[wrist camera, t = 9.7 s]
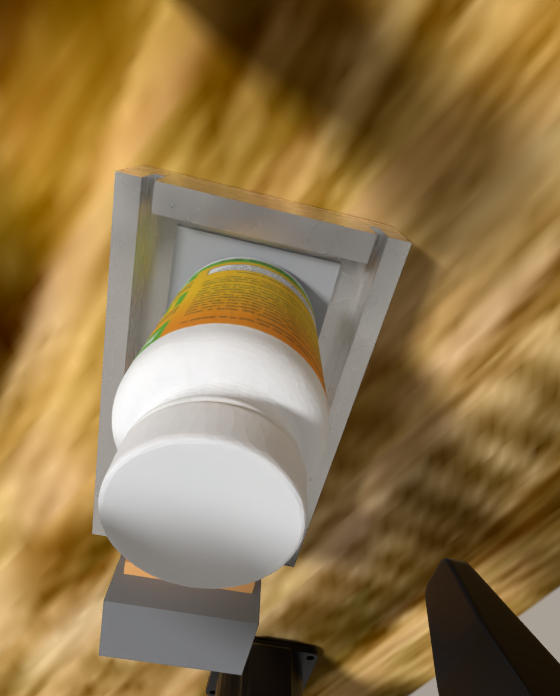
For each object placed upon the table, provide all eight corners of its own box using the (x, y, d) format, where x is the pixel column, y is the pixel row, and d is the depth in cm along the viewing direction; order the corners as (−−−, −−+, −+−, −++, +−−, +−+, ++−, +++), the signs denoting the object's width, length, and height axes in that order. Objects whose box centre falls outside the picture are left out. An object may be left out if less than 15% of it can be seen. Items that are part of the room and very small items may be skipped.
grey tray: (292, 517, 24) (297, 698, 16) (114, 486, 23) (30, 662, 15) (391, 225, 17) (480, 299, 9) (143, 164, 16) (17, 192, 8)
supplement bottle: (182, 239, 16) (50, 374, 7) (329, 269, 16) (381, 433, 7) (169, 369, 18) (59, 594, 9) (298, 392, 18) (309, 628, 10)
